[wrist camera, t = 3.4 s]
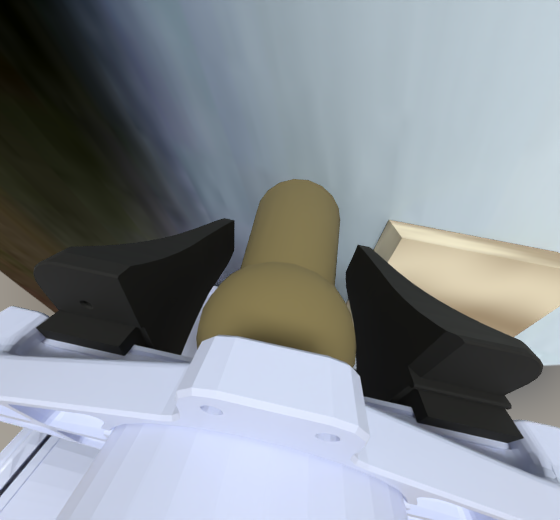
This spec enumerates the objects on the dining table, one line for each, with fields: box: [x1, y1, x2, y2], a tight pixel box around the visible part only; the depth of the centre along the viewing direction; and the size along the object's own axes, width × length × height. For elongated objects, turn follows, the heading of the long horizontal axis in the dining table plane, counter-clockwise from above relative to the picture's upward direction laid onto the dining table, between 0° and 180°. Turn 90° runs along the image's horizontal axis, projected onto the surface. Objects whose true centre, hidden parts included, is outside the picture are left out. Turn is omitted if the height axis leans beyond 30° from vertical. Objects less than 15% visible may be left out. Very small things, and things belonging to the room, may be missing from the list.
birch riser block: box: [346, 220, 560, 337], centre depth 15 cm, size 11×11×2 cm
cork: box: [196, 179, 356, 368], centre depth 10 cm, size 6×6×11 cm
